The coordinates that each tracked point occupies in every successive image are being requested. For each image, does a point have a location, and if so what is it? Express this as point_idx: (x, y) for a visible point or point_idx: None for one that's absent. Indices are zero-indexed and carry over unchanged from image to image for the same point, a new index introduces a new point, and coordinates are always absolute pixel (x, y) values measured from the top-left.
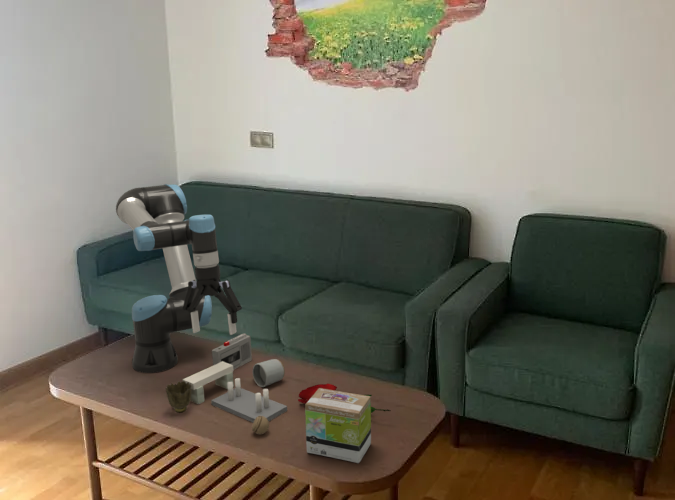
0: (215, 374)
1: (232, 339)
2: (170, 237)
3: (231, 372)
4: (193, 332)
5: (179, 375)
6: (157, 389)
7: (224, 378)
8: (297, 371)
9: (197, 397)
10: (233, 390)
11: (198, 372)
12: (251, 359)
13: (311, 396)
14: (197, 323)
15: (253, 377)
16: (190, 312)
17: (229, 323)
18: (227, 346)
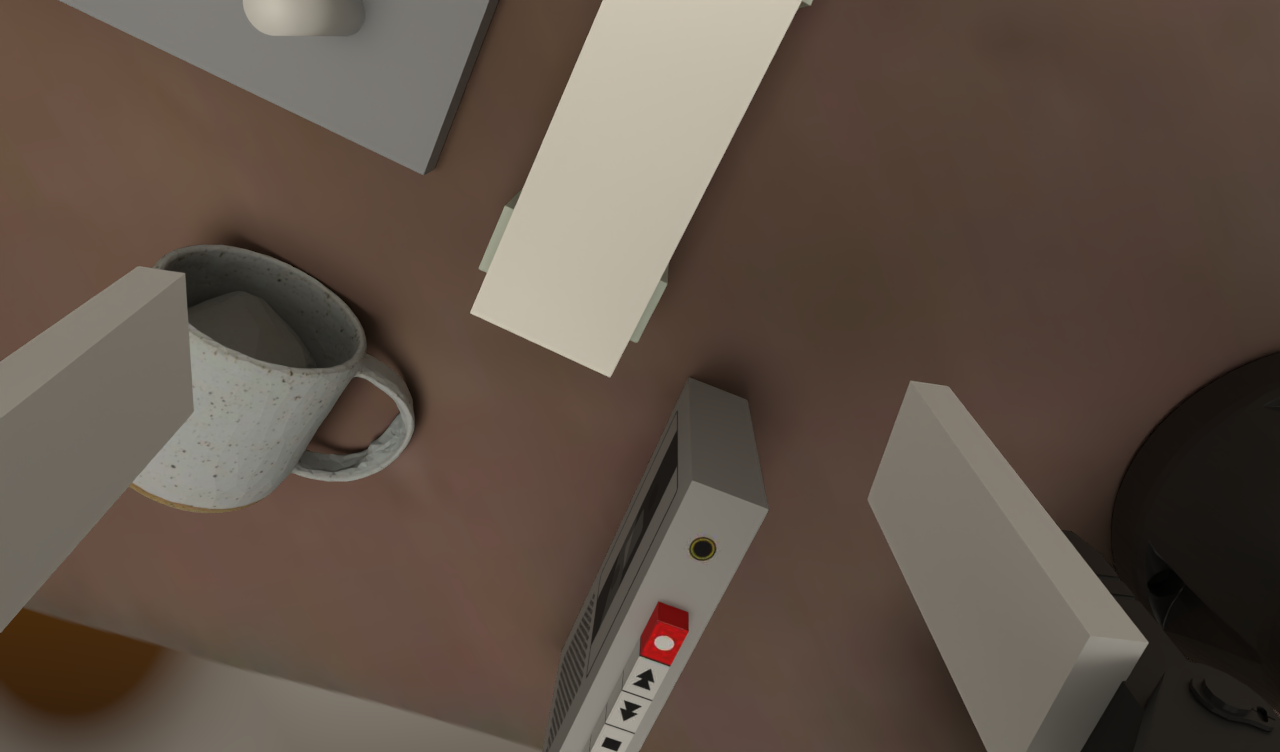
0: (562, 97)
1: (633, 706)
2: None
3: (488, 264)
4: (941, 389)
5: (1026, 352)
6: (1145, 73)
7: None
8: (168, 540)
9: None
10: (432, 102)
11: (750, 87)
12: (561, 653)
13: None
14: (925, 546)
15: (363, 336)
16: (1159, 678)
17: (37, 364)
18: (644, 601)
